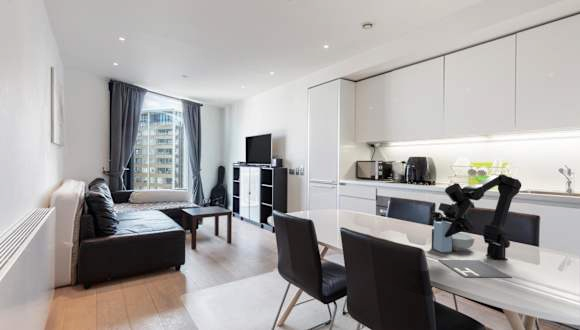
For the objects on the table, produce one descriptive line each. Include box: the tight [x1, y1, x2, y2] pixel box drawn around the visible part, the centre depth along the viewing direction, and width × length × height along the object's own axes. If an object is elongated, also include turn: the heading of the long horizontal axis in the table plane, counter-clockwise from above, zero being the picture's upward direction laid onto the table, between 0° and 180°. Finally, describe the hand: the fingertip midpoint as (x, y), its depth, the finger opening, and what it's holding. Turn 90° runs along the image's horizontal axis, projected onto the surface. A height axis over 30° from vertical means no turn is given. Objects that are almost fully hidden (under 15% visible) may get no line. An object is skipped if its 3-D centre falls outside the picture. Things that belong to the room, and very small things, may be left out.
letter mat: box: [438, 259, 512, 279], centre depth 122 cm, size 19×19×1 cm
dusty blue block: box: [433, 221, 453, 253], centre depth 125 cm, size 5×5×12 cm
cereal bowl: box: [452, 232, 475, 251], centre depth 151 cm, size 17×17×7 cm
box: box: [431, 228, 453, 255], centre depth 146 cm, size 8×6×11 cm
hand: (440, 235), depth 125 cm, fingers closed on dusty blue block, 5 cm apart
